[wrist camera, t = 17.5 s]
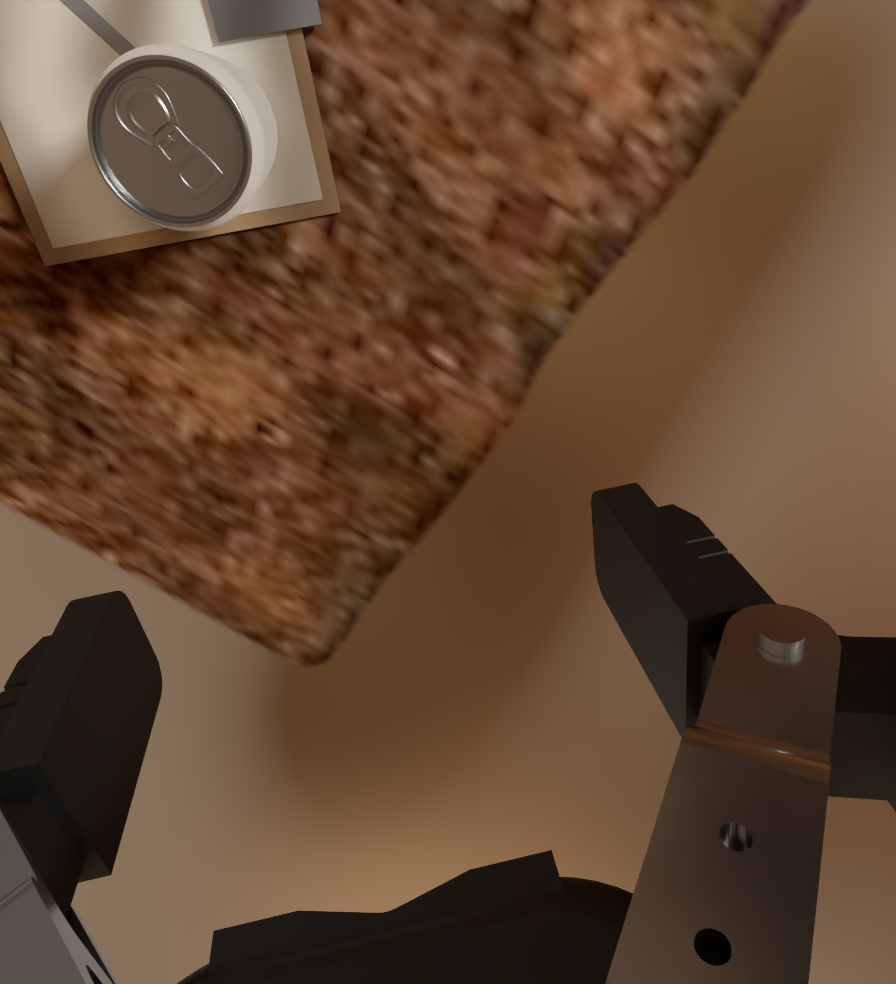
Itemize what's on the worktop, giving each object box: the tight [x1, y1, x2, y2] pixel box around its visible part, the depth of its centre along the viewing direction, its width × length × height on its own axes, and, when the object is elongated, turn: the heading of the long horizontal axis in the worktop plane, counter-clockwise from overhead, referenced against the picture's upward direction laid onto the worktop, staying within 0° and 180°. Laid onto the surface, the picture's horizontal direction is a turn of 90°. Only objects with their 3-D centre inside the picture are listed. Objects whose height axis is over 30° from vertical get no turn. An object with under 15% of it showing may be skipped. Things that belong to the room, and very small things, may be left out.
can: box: [87, 44, 278, 231], centre depth 31 cm, size 6×6×12 cm
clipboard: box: [0, 0, 341, 266], centre depth 34 cm, size 17×19×1 cm
